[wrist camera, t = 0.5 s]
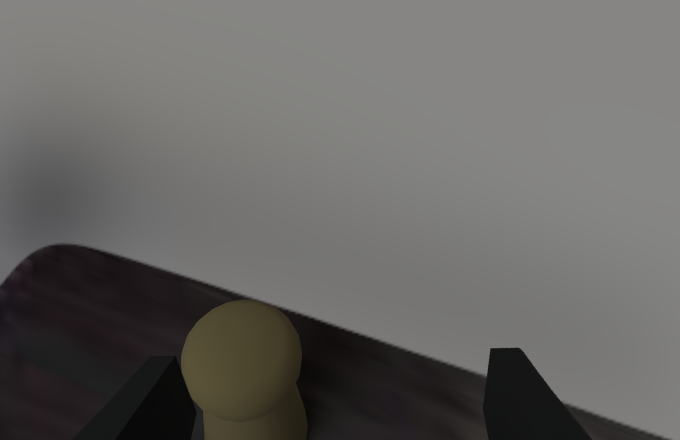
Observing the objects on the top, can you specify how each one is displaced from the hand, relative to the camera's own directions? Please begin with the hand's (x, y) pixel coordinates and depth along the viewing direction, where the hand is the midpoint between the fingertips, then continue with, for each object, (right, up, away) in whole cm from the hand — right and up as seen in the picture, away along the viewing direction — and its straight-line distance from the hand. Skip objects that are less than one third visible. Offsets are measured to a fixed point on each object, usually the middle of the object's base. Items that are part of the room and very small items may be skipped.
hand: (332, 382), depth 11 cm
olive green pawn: (-5, -9, +17) cm, 19 cm away
